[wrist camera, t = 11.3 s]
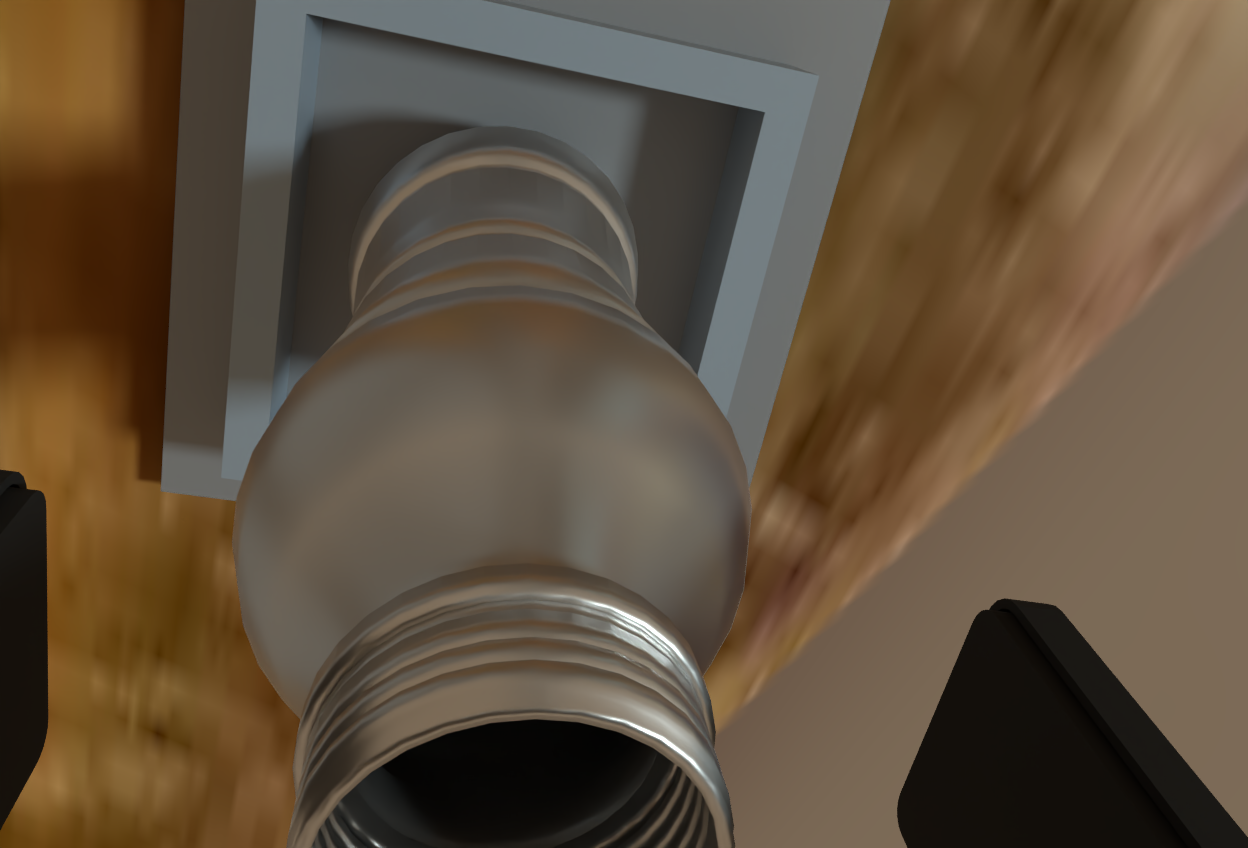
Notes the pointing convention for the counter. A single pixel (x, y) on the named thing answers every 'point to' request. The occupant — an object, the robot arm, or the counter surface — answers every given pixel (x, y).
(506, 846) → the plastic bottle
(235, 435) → the blue-grey square tray
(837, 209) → the counter surface
